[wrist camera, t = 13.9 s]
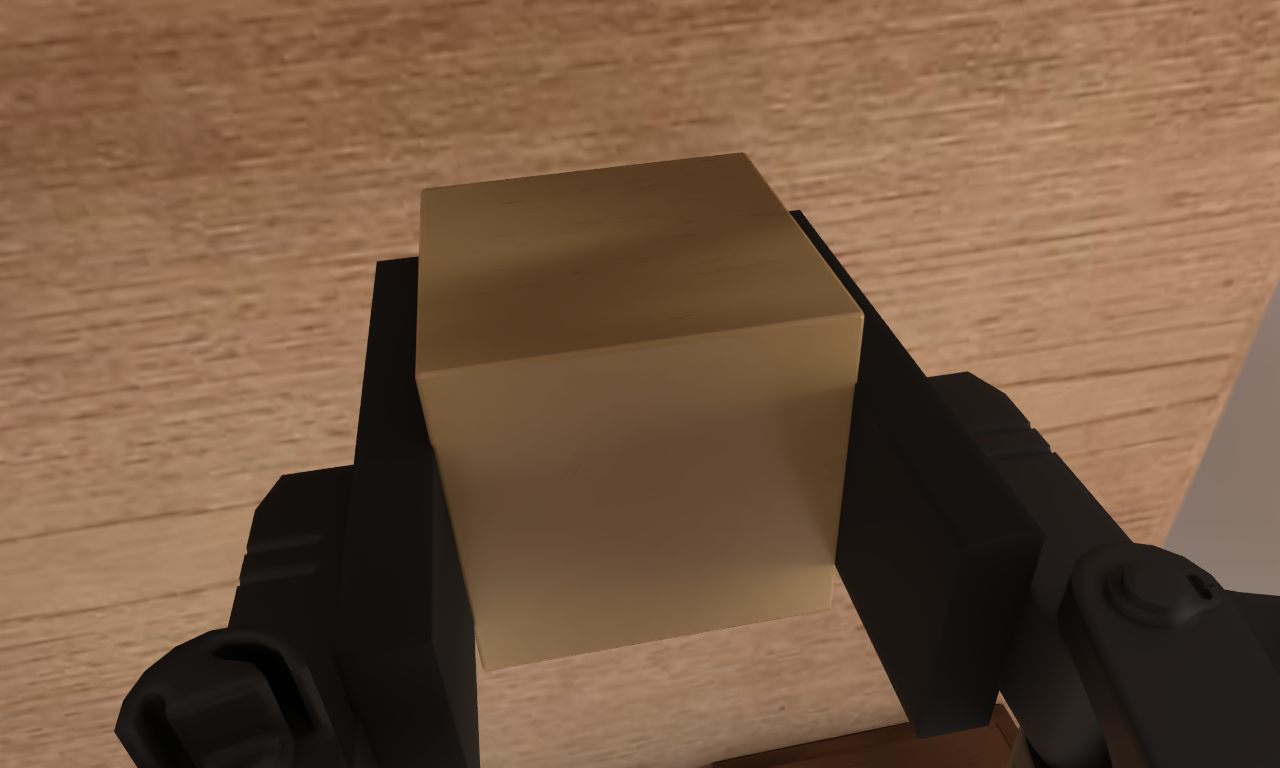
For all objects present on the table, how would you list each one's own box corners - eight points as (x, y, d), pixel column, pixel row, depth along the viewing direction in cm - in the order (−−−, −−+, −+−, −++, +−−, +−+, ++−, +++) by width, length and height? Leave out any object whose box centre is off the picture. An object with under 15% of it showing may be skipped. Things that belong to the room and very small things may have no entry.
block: (745, 150, 13) (867, 313, 9) (739, 406, 15) (832, 611, 12) (419, 187, 12) (413, 376, 8) (470, 446, 15) (483, 673, 11)
